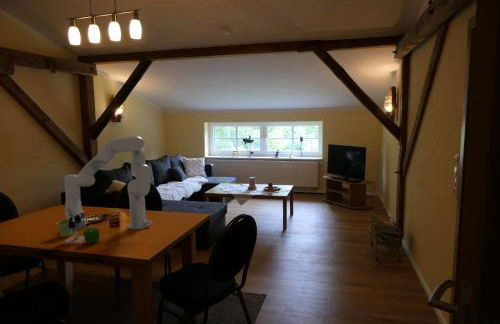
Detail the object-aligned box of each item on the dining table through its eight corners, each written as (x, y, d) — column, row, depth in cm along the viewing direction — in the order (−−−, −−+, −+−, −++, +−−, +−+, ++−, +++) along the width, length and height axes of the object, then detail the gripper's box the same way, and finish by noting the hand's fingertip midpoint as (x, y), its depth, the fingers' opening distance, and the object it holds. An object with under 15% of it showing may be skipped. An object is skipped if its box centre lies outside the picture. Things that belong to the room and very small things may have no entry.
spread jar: (77, 230, 210) (76, 213, 209) (62, 229, 212) (61, 212, 211) (90, 225, 222) (89, 208, 220) (75, 224, 224) (74, 207, 223)
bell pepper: (98, 244, 186) (97, 227, 185) (82, 245, 184) (81, 228, 183) (101, 239, 194) (100, 223, 193) (86, 240, 192) (85, 224, 191)
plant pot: (62, 239, 195) (61, 225, 194) (54, 236, 200) (53, 222, 199) (78, 234, 203) (77, 221, 202) (69, 232, 208) (68, 218, 206)
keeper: (89, 237, 197) (88, 227, 196) (80, 243, 187) (79, 232, 186) (72, 237, 197) (71, 227, 196) (63, 243, 187) (62, 232, 186)
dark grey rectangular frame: (71, 225, 194) (70, 220, 194) (85, 225, 194) (84, 220, 194) (65, 229, 188) (64, 223, 188) (79, 229, 188) (79, 223, 188)
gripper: (74, 192, 197) (76, 221, 200) (57, 199, 180) (60, 231, 182) (87, 192, 197) (88, 221, 200) (71, 199, 180) (73, 230, 182)
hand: (75, 225), depth 191 cm, fingers closed on dark grey rectangular frame, 6 cm apart
